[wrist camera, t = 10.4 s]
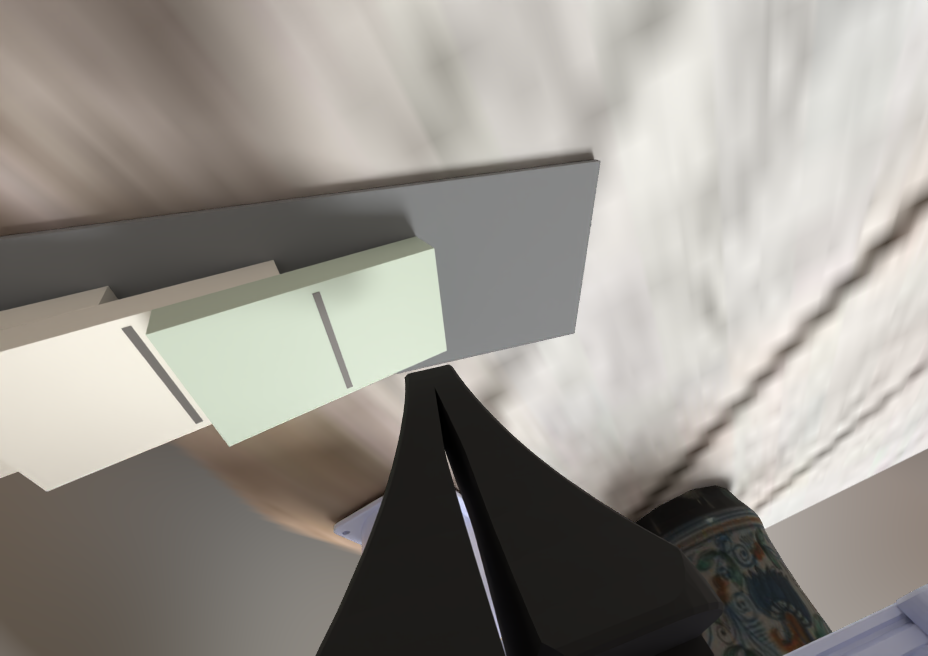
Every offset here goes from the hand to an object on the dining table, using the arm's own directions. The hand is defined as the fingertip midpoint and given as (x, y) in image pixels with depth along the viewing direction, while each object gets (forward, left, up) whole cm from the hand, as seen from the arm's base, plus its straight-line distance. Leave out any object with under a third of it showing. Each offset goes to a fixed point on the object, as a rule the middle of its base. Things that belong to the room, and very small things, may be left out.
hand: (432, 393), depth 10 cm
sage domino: (0, -1, -6) cm, 6 cm away
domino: (+2, +4, -6) cm, 7 cm away
